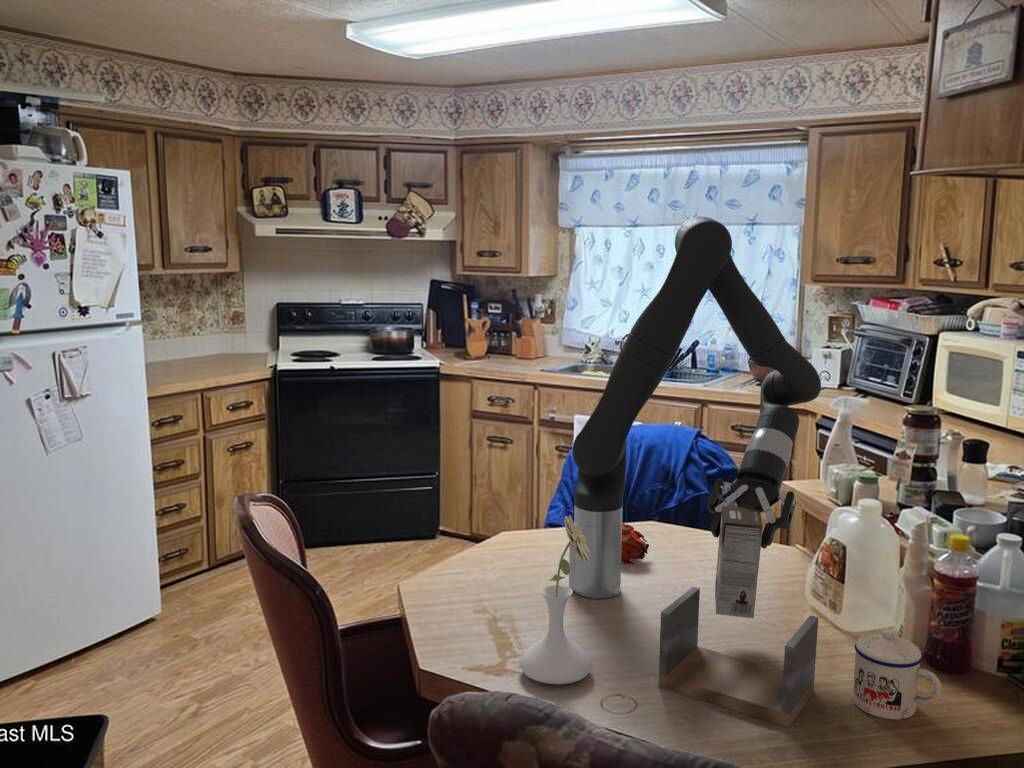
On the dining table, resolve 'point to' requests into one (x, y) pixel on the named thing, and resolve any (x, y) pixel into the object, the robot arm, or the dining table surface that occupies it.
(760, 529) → the coffee box
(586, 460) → the robot arm
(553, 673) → the flower in vase
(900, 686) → the teacup with lid
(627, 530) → the dragon fruit
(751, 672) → the shelf bay
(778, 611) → the dining table surface
